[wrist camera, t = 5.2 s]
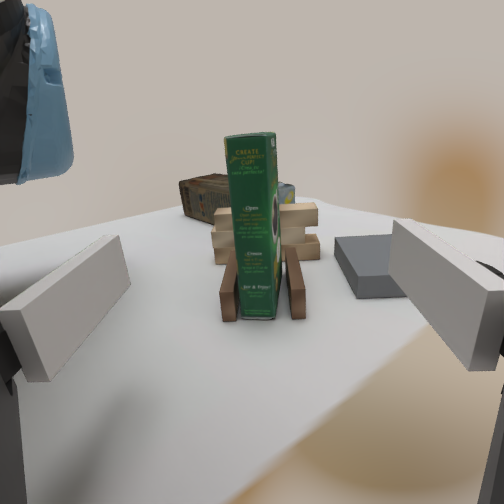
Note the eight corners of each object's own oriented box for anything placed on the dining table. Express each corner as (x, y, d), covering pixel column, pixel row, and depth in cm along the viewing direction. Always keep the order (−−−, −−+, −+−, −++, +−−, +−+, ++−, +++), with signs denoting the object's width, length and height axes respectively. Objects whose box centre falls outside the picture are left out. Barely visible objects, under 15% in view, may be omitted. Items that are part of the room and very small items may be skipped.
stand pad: (357, 298, 25) (358, 276, 24) (334, 254, 33) (334, 237, 33) (473, 294, 25) (478, 271, 24) (420, 250, 33) (423, 232, 32)
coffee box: (254, 272, 31) (243, 131, 26) (283, 272, 30) (278, 128, 25) (238, 319, 24) (219, 135, 19) (276, 321, 23) (267, 132, 18)
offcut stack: (214, 264, 33) (208, 215, 31) (218, 253, 36) (213, 207, 34) (319, 259, 33) (320, 208, 31) (315, 248, 35) (315, 201, 33)
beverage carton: (256, 242, 40) (252, 190, 37) (181, 217, 53) (175, 178, 51) (298, 226, 44) (297, 179, 42) (219, 207, 58) (215, 170, 55)
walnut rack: (222, 321, 24) (219, 292, 23) (233, 273, 31) (230, 250, 30) (305, 318, 23) (305, 288, 22) (295, 271, 30) (295, 247, 30)
